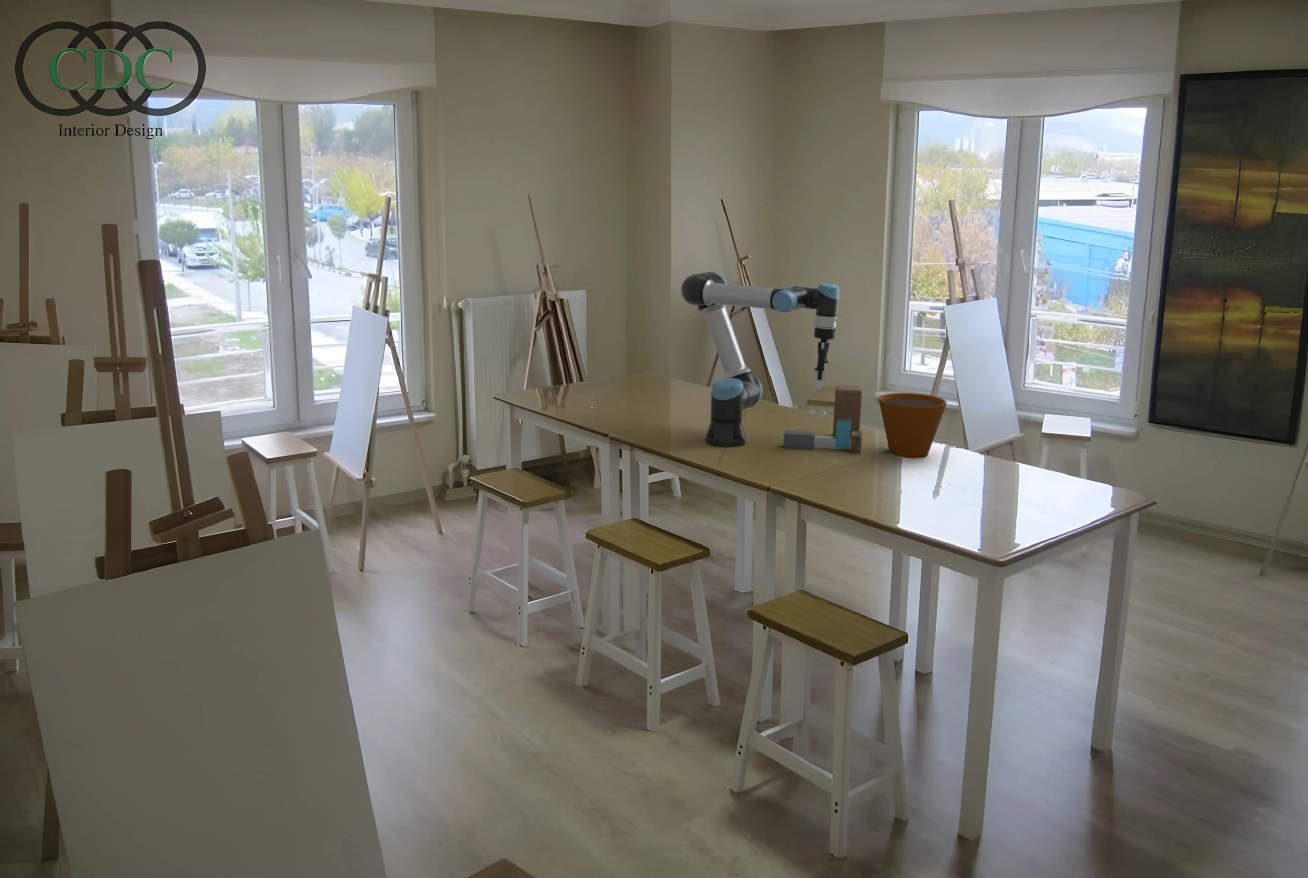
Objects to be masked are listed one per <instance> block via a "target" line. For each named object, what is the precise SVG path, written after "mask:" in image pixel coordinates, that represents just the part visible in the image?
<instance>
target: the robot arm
mask: <svg viewBox="0 0 1308 878" xmlns="http://www.w3.org/2000/svg"><path fill="white" fill-rule="evenodd" d="M683 280H684V281H683V282H682V284H681V288H680V292H681V296H682V299H684V301H685V302H686V303H687V304H688V305H691V306H697V308H698V311H699V313H700V314H702V315H703V316H704V317H705V320H706V323H707V326H708V328H709V332H710V335H711V337H712V340H713V343H714V346H715V349H716V353H717V355H718V357H719V361H720V364H721V366H722V370H723V373H724V374H723V378H720V379H717V380H715V381H713V383H712V384H711V390H710V396H711V397H710V422H709V425H708V427H707V431H706V432H705V438H704V439H705V443H706V444H708V445H711V446H714V447H715V446H716V447H725V448H728V447H731V448H732V447H740V446H743V445H745V444H746V442H747V440H746V439H747V437H746V433H745V430H744V427H743V411H744V410H746V409H749V408H752V407H754V406H755V405H756V404H758V403H759V402H760V401H761V398H762V397H763V389H764V388H763V385H762V382H761V381H760V380H759V379H758V378H757V377H756V376H754V374H753V370H752V369H751V368H749V367H748V366H747V365H746V363H745V362H746V361H745V360H744V357H743V354H742V350H741V348H740V345H739V341H738V339H737V336H736V333H735V330H734V327H733V324H732V321H731V319H730V316H729V313H728V310H727V306H733V307H745V308H746V307H747V308H756V309H764V310H765V309H766V310H774V311H777V312H779V313H789V312H791V311H795V310H799V309H808V310H809V309H810V310H815V311H816V312H815V318H814V319H815V320H814V326H815V327H814V332H813V338H816V339H820V340H819V342H818V343H817V363H816V365H817V366H816V367H814V371H816V372H815V374H816V375H815V381H814V382H815V384H814V389H819V390H823V388H824V382H825V381H826V380H825V379H826V371H827V364H829V360H828V359H827V357H828V353H829V347H830V342H829V340H834V339H835V338H836V332H837V331H836V327H837V322H838V321H839V319H838V318H837V317H838V309H839V299H840V286H838V284H836V283H835V284H833V283H820V284H818V287H817V288H816V287H815V288H814V287H813V288H812V287H805V286H800V285H789V286H788V287H787V288H786V289H783V288H773V287H763V286H752V285H743V284H741V285H740V284H731V283H730V284H729V283H727V280H726V279H725V277H724V276H723V275H722V274H720V273H718V272H715V271H714V272H713V271H711V272H710V271H707V272H701V273H696V274H691V275H689V276H687V277H686V278H685V279H683Z"/></svg>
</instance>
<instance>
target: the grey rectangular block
mask: <svg viewBox="0 0 1308 878" xmlns="http://www.w3.org/2000/svg"><path fill="white" fill-rule="evenodd" d="M815 435H816V432H815V431H807V430H806V431H805V430H804V431H803V430H791V429H790V430H789V429H785V430H784V433H783V445H782V446H783V449H790V450H791V449H796V450H805V451H806V450H809V451H813V450H814V449H815V447H814V436H815Z"/></svg>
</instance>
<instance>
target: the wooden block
mask: <svg viewBox="0 0 1308 878" xmlns="http://www.w3.org/2000/svg"><path fill="white" fill-rule="evenodd" d="M862 399H863V386H861V385H854V384H853V385H852V384H837V385H836V386H835V390H834V406H833V425H832V436H835V437H836V429H837V418H844V419H851V432H850V438H852V431H861V415H862V401H863V400H862Z"/></svg>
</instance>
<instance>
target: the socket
mask: <svg viewBox="0 0 1308 878" xmlns="http://www.w3.org/2000/svg"><path fill="white" fill-rule="evenodd" d="M862 436H863V431H861V430H860V431H852V440H851V449H850V454H853V455H854V454H855V455H861V451H862V438H863V437H862Z"/></svg>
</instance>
